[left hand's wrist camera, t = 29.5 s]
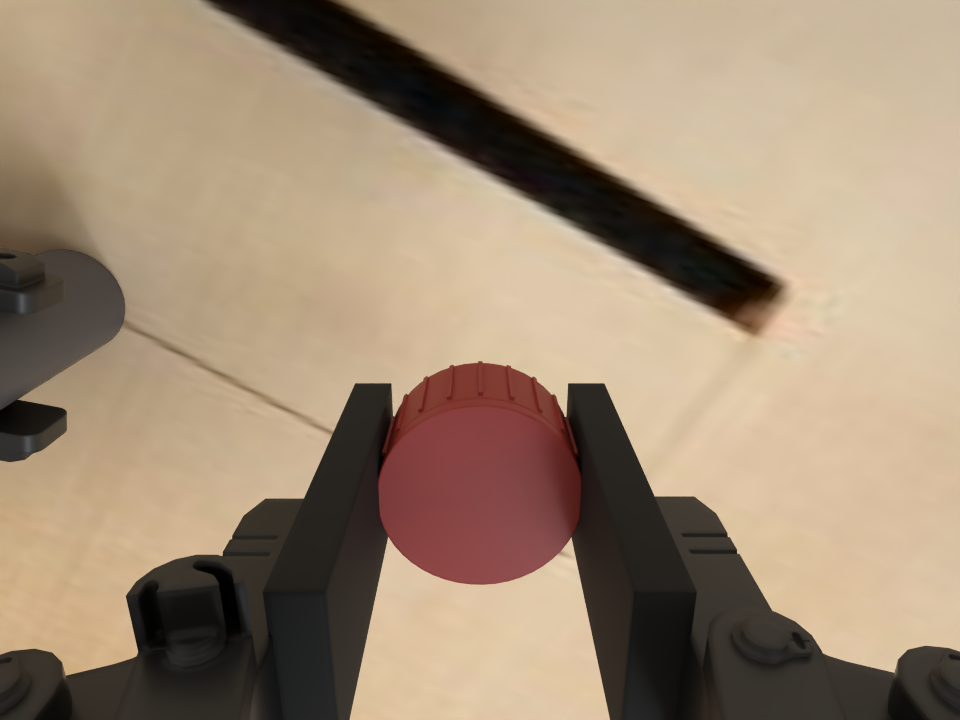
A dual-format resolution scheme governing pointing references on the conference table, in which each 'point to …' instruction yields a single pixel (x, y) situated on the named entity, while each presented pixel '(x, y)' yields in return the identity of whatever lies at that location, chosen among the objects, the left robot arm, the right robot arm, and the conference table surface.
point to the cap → (479, 475)
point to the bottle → (59, 325)
